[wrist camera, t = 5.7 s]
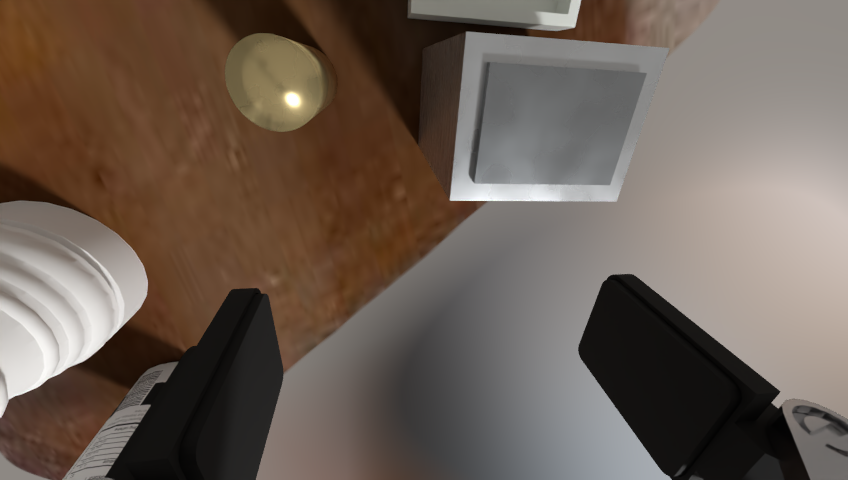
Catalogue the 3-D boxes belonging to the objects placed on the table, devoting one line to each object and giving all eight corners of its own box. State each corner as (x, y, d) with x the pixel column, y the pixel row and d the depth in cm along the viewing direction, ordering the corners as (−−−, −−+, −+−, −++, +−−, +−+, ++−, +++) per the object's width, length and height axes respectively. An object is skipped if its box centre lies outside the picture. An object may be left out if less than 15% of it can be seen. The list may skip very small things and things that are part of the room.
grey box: (422, 48, 24) (469, 30, 12) (537, 57, 25) (677, 47, 14) (418, 150, 28) (450, 211, 16) (519, 152, 29) (619, 211, 17)
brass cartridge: (270, 42, 23) (215, 29, 15) (335, 47, 23) (315, 36, 16) (279, 110, 25) (235, 129, 17) (339, 112, 25) (323, 132, 18)
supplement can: (242, 380, 37) (169, 554, 24) (198, 417, 39) (107, 598, 25) (171, 345, 33) (40, 525, 20) (126, 387, 35) (-22, 579, 22)
